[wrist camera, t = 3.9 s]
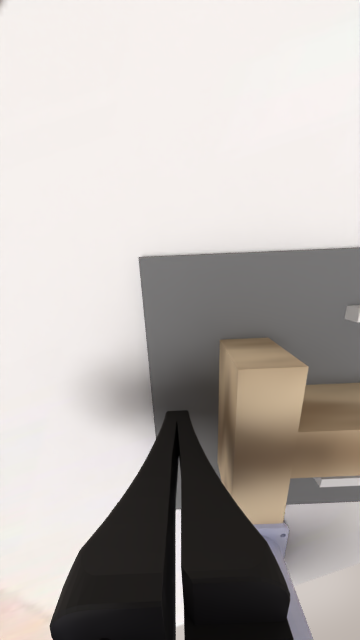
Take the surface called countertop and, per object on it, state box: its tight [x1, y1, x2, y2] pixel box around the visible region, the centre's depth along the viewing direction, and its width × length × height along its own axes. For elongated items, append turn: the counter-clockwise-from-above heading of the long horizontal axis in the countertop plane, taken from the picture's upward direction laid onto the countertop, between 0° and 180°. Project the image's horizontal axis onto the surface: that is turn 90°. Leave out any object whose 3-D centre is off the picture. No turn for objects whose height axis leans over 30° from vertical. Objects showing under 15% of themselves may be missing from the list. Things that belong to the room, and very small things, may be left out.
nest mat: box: [139, 248, 360, 509], centre depth 12 cm, size 20×24×1 cm
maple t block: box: [218, 338, 360, 525], centre depth 11 cm, size 10×10×4 cm
